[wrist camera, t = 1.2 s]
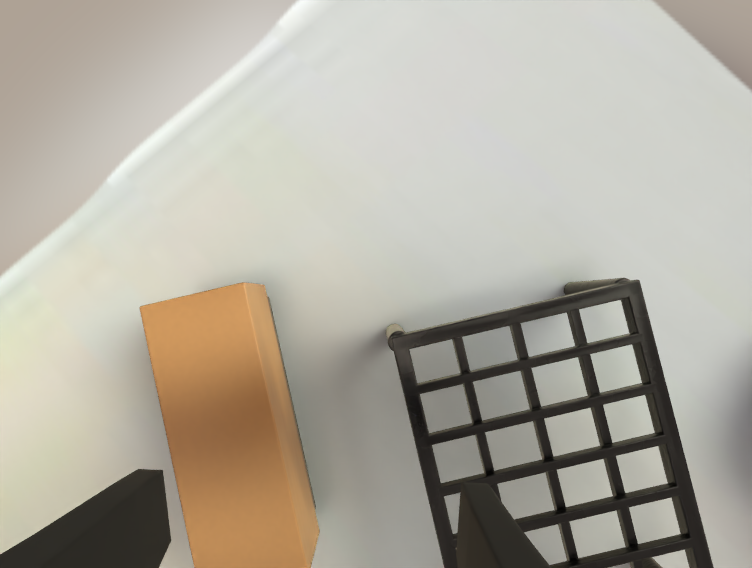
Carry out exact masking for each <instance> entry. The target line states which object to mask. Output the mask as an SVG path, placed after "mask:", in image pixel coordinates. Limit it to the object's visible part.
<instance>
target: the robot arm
mask: <svg viewBox="0 0 752 568" xmlns="http://www.w3.org/2000/svg"><path fill="white" fill-rule="evenodd" d="M170 542H171V535H170V527H169V519H168V510H167V502H166V493H165V485H164V476H163V470H146V469H138V470H136V471H134V472H132V473H131V474H129V475H127V476H126V477H124V478H122V479H121V480H119V481H117V482H116V483H114V484H113V485H111V486H109V487H108V488H106V489H105V490H103V491H101V492H100V493H98V494H97V495H95V496H94V497H92V498H90V499H89V500H87V501H86V502H84V503H83V504H81V505H80V506H78V507H76V508H75V509H73V510H72V511H70V512H69V513H67V514H65V515H64V516H62V517H61V518H59V519H58V520H56V521H54V522H53V523H51V524H50V525H48V526H46V527H45V528H43V529H42V530H40V531H39V532H37V533H35V534H34V535H32V536H31V537H29V538H27V539H26V540H24V541H22V542H21V543H19V544H17V545H15V546H14V547H12V548H10V549H9V550H7V551H5V552H4V553H2V554H0V568H159V566H160V564H161V561H162V559H163V557H164V555H165V553H166V551H167V548H168V546H169V544H170ZM456 558H457V566H458V568H551V567H550V565H549V564H548V563H547V562H546V560H545V559H544V558H543V557H542V555H541V554H540V553H539V552H538V550H537V549H536V548H535V547H534V545H533V544H532V543H531V542H530V540H529V539H528V538H527V536H526V535H525V534H524V532H523V531H522V530H521V528H520V527H519V526H518V524H517V523H516V522H515V520H514V519H513V518H512V516H511V515H510V513H509V512H508V511H507V509H506V508H505V506H504V505H503V504H502V502H501V501H500V499H499V498H498V496H497V495H496V494H495V492H494V491H493V489H492V488H491V487H490V486H489V485H488V484H487V483H465V482H461V494H460V507H459V520H458V534H457V547H456Z"/></svg>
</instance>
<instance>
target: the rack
mask: <svg viewBox="0 0 752 568" xmlns="http://www.w3.org/2000/svg"><path fill="white" fill-rule="evenodd" d="M564 294H565V296H561V297H557V298H552V299H548V300H544V301H540V302H535V303H531V304H527V305H522V306H518V307H514V308H510V309H505V310H501V311H497V312H493V313H488V314H484V315H480V316H475V317H471V318H467V319H463V320H458V321H454V322H450V323H446V324H441V325H437V326H433V327H428V328H424V329H420V330H416V331H411V332H407V333H406V332H405V331H404V330H403V328H402V327H401V326H400V325H398V324H391V325H389V326H388V327H387V329H386V336H387V341H388V345H389V347H390V349H391V350H392V351H394V354H395V359H396V363H397V367H398V372H399V376H400V380H401V384H402V389H403V393H404V397H405V401H406V406H407V410H408V414H409V419H410V423H411V427H412V431H413V436H414V440H415V444H416V448H417V453H418V457H419V461H420V466H421V470H422V474H423V478H424V483H425V487H426V491H427V496H428V500H429V504H430V508H431V513H432V517H433V521H434V525H435V530H436V534H437V538H438V543H439V547H440V551H441V555H442V560H443V564H444V568H458V566H457V558H456V547H457V534H458V533H456V534H453V533H452V529H451V525H450V521H449V516H448V512H447V508H446V504H445V499H444V496H447V495H451V494H456V493H460V492H461V482H465V483H487V484H488V485H489V486H490V487H491V488H492V489H493V491H494V492H495V494H496V495H497V496H498V498H499V499H500V501H501V497H500V493H499V489H498V485H497V484H498V483H502V482H506V481H511V480H515V479H519V478H523V477H528V476H532V475H536V474H540V473H544V472H546V476H547V481H548V485H549V489H550V493H551V497H552V501H553V505H554V509H555V510H553V511H549V512H545V513H540V514H536V515H532V516H528V517H523V518H519V519H515V522H516V523H517V524H518V526H519V527H520V528H521V530H522V531H523V532H526V531H531V530H535V529H539V528H543V527H548V526H552V525H556V524H558V525H559V529H560V534H561V538H562V542H563V546H564V550H565V554H566V558H567V561H565V562H561V563H557V564H553V565H550V567H551V568H608V567H612V566H616V565H620V564H625V563H629V562H630V566H631V568H662V567H661V566H660V565H659V564H658V563H657V562H656V561H655V560H654V559H653V558H652V557H654V556H658V555H663V554H667V553H671V552H675V551H680V550H684V549H685V552H686V556H687V560H688V563H689V567H690V568H714V567H713V564H712V560H711V556H710V552H709V548H708V544H707V540H706V537H705V533H704V529H703V525H702V521H701V517H700V513H699V509H698V506H697V502H696V498H695V494H694V490H693V486H692V482H691V478H690V475H689V471H688V467H687V463H686V459H685V455H684V451H683V448H682V444H681V440H680V436H679V432H678V428H677V424H676V420H675V417H674V413H673V409H672V405H671V401H670V397H669V393H668V389H667V386H666V382H665V378H664V374H663V370H662V366H661V362H660V359H659V355H658V351H657V347H656V343H655V339H654V335H653V331H652V328H651V324H650V320H649V316H648V312H647V308H646V304H645V300H644V297H643V292H642V288H641V285H640V281H639V280H629V279H626V278H617V279H605V280H593V281H580V282H570V283H568V284H567V285H566V286H565V288H564ZM617 300H621V302H622V306H623V310H624V314H625V318H626V321H627V325H628V329H629V333H630V334H625V335H621V336H617V337H613V338H608V339H604V340H600V341H596V342H591V343H587V340H586V336H585V332H584V329H583V325H582V321H581V317H580V313H579V309H582V308H587V307H591V306H595V305H600V304H604V303H608V302H612V301H617ZM565 312H567V315H568V319H569V323H570V327H571V331H572V335H573V339H574V343H575V346H574V347H570V348H566V349H561V350H557V351H553V352H549V353H544V354H540V355H536V356H532V357H529V356H528V352H527V348H526V344H525V340H524V336H523V332H522V328H521V324H520V323H523V322H527V321H531V320H536V319H540V318H544V317H548V316H553V315H557V314H561V313H565ZM506 326H510V330H511V334H512V338H513V342H514V346H515V350H516V354H517V358H518V360H515V361H510V362H506V363H502V364H498V365H493V366H489V367H485V368H481V369H476V370H472V371H470V369H469V364H468V360H467V356H466V352H465V348H464V344H463V339H462V337H463V336H467V335H472V334H476V333H480V332H484V331H489V330H493V329H497V328H501V327H506ZM450 339H452V341H453V345H454V349H455V353H456V358H457V362H458V366H459V370H460V373H459V374H455V375H451V376H446V377H442V378H438V379H434V380H429V381H425V382H421V383H417V380H416V376H415V372H414V368H413V363H412V359H411V355H410V351H409V349H412V348H416V347H420V346H425V345H429V344H433V343H437V342H442V341H446V340H450ZM631 344H632V345H633V349H634V353H635V357H636V361H637V364H638V368H639V372H640V376H641V380H642V383H640V384H636V385H632V386H628V387H623V388H619V389H615V390H611V391H606V392H602V393H600V392H599V388H598V384H597V380H596V376H595V372H594V368H593V364H592V360H591V356H590V354H592V353H597V352H601V351H605V350H609V349H614V348H618V347H622V346H626V345H631ZM575 357H578V359H579V363H580V367H581V370H582V374H583V378H584V382H585V386H586V390H587V394H588V396H585V397H581V398H577V399H572V400H568V401H564V402H560V403H555V404H551V405H547V406H543V407H541V405H540V401H539V397H538V393H537V389H536V385H535V381H534V377H533V373H532V369H531V368H533V367H537V366H541V365H545V364H550V363H554V362H558V361H563V360H567V359H571V358H575ZM520 370H521V375H522V379H523V383H524V387H525V391H526V395H527V399H528V403H529V407H530V410H526V411H521V412H517V413H513V414H509V415H504V416H500V417H496V418H492V419H487V420H483V421H482V418H481V414H480V410H479V406H478V402H477V398H476V393H475V389H474V385H473V381H477V380H482V379H486V378H490V377H494V376H499V375H503V374H507V373H511V372H516V371H520ZM460 384H463V387H464V391H465V395H466V399H467V404H468V408H469V412H470V416H471V420H472V423H470V424H466V425H462V426H458V427H453V428H449V429H445V430H441V431H436V432H432V433H429V431H428V427H427V423H426V419H425V414H424V410H423V406H422V402H421V397H420V394H422V393H426V392H431V391H435V390H439V389H443V388H448V387H452V386H456V385H460ZM641 395H645V396H646V400H647V403H648V407H649V411H650V415H651V419H652V423H653V427H654V431H655V433H653V434H649V435H644V436H640V437H636V438H632V439H627V440H623V441H619V442H615V443H612V440H611V436H610V432H609V428H608V424H607V420H606V416H605V412H604V408H603V404H607V403H612V402H616V401H620V400H624V399H629V398H633V397H637V396H641ZM590 407H591V410H592V414H593V418H594V422H595V426H596V430H597V434H598V438H599V442H600V446H598V447H593V448H589V449H585V450H581V451H577V452H572V453H568V454H564V455H560V456H555V457H553V454H552V450H551V446H550V442H549V438H548V434H547V430H546V425H545V421H544V418H548V417H552V416H556V415H561V414H565V413H569V412H573V411H578V410H582V409H586V408H590ZM531 421H533V423H534V428H535V432H536V436H537V440H538V444H539V448H540V452H541V456H542V460H538V461H534V462H530V463H526V464H521V465H517V466H513V467H509V468H504V469H500V470H496V471H494V468H493V464H492V460H491V456H490V452H489V447H488V443H487V439H486V435H485V432H488V431H493V430H497V429H501V428H505V427H510V426H514V425H518V424H522V423H527V422H531ZM471 435H475V437H476V441H477V445H478V449H479V454H480V458H481V462H482V466H483V470H484V473H483V474H479V475H475V476H470V477H466V478H462V479H458V480H454V481H449V482H445V483H441V482H440V478H439V474H438V470H437V465H436V461H435V457H434V453H433V448H432V445H433V444H438V443H442V442H446V441H450V440H454V439H459V438H463V437H467V436H471ZM655 446H659V450H660V454H661V458H662V462H663V466H664V470H665V474H666V478H667V482H668V483H667V484H663V485H659V486H655V487H650V488H646V489H642V490H638V491H633V492H629V493H625V491H624V487H623V483H622V479H621V475H620V471H619V467H618V463H617V459H616V456H617V455H621V454H625V453H629V452H633V451H638V450H642V449H646V448H650V447H655ZM600 459H604V462H605V466H606V470H607V474H608V478H609V482H610V486H611V490H612V494H613V496H612V497H608V498H604V499H600V500H595V501H591V502H587V503H583V504H578V505H574V506H570V507H565V503H564V499H563V494H562V490H561V486H560V482H559V478H558V474H557V469H561V468H566V467H570V466H574V465H578V464H583V463H587V462H591V461H595V460H600ZM670 497H672V501H673V505H674V509H675V513H676V517H677V521H678V524H679V528H680V532H681V534H679V535H675V536H671V537H667V538H663V539H658V540H654V541H650V542H646V543H641V544H638V543H637V539H636V535H635V531H634V527H633V523H632V519H631V515H630V511H629V507H632V506H636V505H641V504H645V503H649V502H653V501H658V500H662V499H666V498H670ZM615 510H617V514H618V518H619V522H620V526H621V530H622V534H623V538H624V542H625V546H626V547H625V548H620V549H616V550H612V551H608V552H603V553H599V554H595V555H591V556H587V557H582V558H578V555H577V551H576V547H575V543H574V539H573V535H572V531H571V527H570V523H569V521H573V520H577V519H581V518H586V517H590V516H594V515H598V514H603V513H607V512H611V511H615Z"/></svg>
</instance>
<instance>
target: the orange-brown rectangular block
mask: <svg viewBox="0 0 752 568" xmlns="http://www.w3.org/2000/svg"><path fill="white" fill-rule="evenodd" d="M140 312H141V317H142V322H143V326H144V331H145V336H146V341H147V345H148V350H149V355H150V359H151V364H152V369H153V374H154V378H155V383H156V388H157V393H158V397H159V402H160V407H161V412H162V416H163V421H164V426H165V430H166V435H167V440H168V445H169V449H170V454H171V459H172V464H173V468H174V473H175V478H176V483H177V487H178V492H179V497H180V501H181V506H182V511H183V516H184V520H185V525H186V530H187V535H188V539H189V544H190V549H191V554H192V558H193V563H194V568H311V564H312V560H313V556H314V552H315V548H316V544H317V540H318V536H319V532H320V531H319V526H318V522H317V518H316V513H315V507H316V506H315V502H314V497H313V493H312V488H311V484H310V479H309V475H308V470H307V466H306V461H305V457H304V452H303V448H302V443H301V439H300V434H299V430H298V425H297V421H296V417H295V412H294V408H293V403H292V399H291V394H290V390H289V385H288V381H287V376H286V372H285V367H284V363H283V358H282V354H281V349H280V345H279V340H278V336H277V332H276V327H275V323H274V318H273V314H272V309H271V305H270V300H269V297H267V294H266V289H265V286H264V285H261V284H252V283H244V282H242V283H238V284H234V285H230V286H225V287H221V288H217V289H212V290H208V291H204V292H200V293H195V294H191V295H187V296H182V297H178V298H174V299H170V300H165V301H161V302H157V303H152V304H148V305H144V306H141V307H140Z"/></svg>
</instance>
